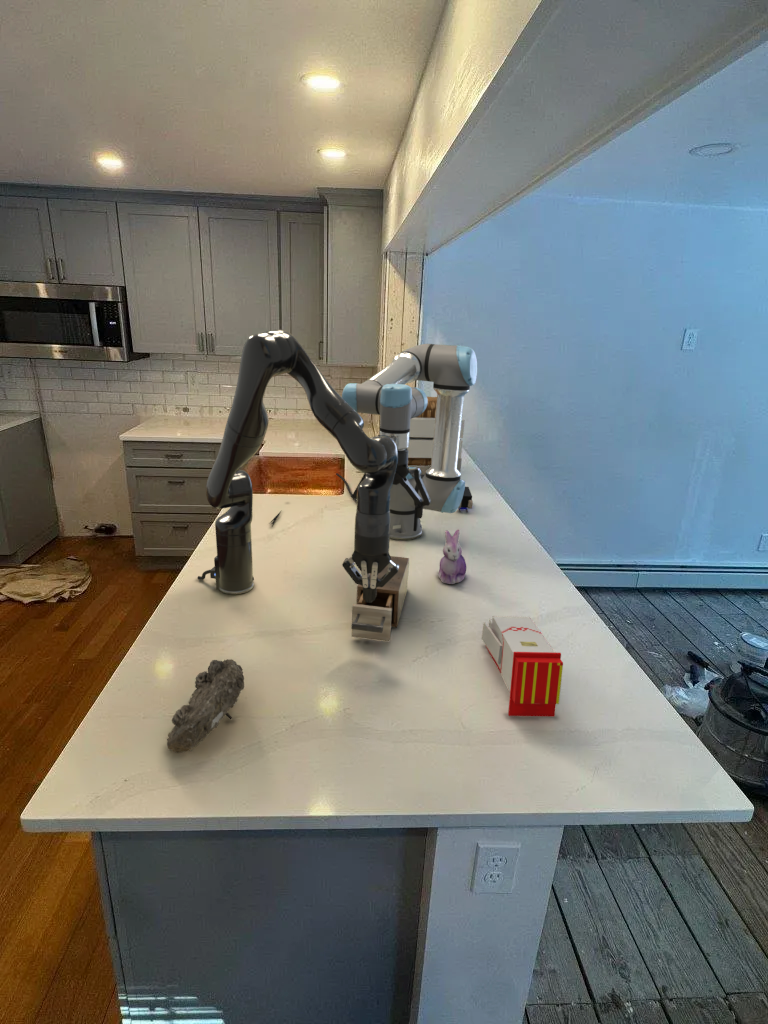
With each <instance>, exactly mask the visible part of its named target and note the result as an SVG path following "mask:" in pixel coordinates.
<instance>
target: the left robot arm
mask: <svg viewBox="0 0 768 1024" xmlns="http://www.w3.org/2000/svg"><path fill="white" fill-rule="evenodd" d="M285 374H287V375H289V376H290V377H292V378H293V379H294V380H295V381H296V382H297V383H299V385H300V387H302V389H303V391H304V393H305V395H306V398H307V401H308V405H309V408H310V410H311V412H312V414H313V416H314V418H315V419H316V421H317V422H318V423H319V425H321V426H322V427H323V428H324V429H325V430H326V432H328V434H330V435H331V436H332V437H333V438H334V439H335V440H336V441H337V443H338V445H339V447H340V448H341V450H342V451H343V453H344V455H345V457H346V458H347V460H348V461H349V463H350V464H351V465H352V466H353V467H354V468H355V469H356V470H357V471H359V472H360V473H362V474H363V475H364V474H366V476H365V479H364V480H363V481H362V482H361V483H360V484H359V483H358V484H359V486H358V485H357V486H358V489H357V499H356V500H357V503H356V510H355V517H354V546H353V552H352V554H351V556H350V557H345V559H344V560H343V562H342V564H341V566H342V567H343V569H344V570H345V571H346V573H347V574H348V575H349V577H350V579H351V580H352V581H353V582H354V583H355V585H358V584H360V585H362V586H363V599H364V600H365V602H367V603H372V602H373V601H374V600H375V598H376V593H377V587H383V586H384V585H385V584H386V583H387V582H388V581H389V580H390V579H391V578H392V577H393V576H394V575H395V574H396V573H397V572H398V570H399V564H395V563H393V562H392V561H391V556H392V555H390V538H389V537H390V528H391V526H390V490H391V486H392V483H393V480H394V476H395V472H396V468H397V463H398V451H397V446H396V444H395V442H394V441H393V440H392V439H391V438H390V437H388V436H386V435H379V434H378V435H374V436H371V437H370V436H368V434H366V433H365V431H364V430H363V429H364V427H365V421H364V419H363V418H362V416H361V415H360V413H357V412H356V411H355V410H354V409H353V408H352V407H351V406H350V405H349V404H348V403H347V402H346V401H345V400H344V399H343V398H342V395H340V393H338V391H336V389H335V388H333V386H332V385H331V384H330V383H329V381H328V380H327V379H326V377H325V376H324V375H323V373H322V372H321V371H320V369H319V368H318V366H317V365H316V364H315V362H314V361H313V360H312V358H310V355H308V353H307V352H306V350H305V349H304V347H303V346H302V344H300V342H299V341H298V340H297V338H296V337H295V336H294V335H293V334H292V333H290V332H289V331H287V330H285V329H272V330H266V331H263V332H257V333H254V334H252V335H250V336H249V337H248V338H247V339H246V341H245V342H244V345H243V348H242V351H241V356H240V363H239V369H238V376H237V382H236V388H235V392H234V394H233V395H234V396H233V400H232V404H231V408H230V411H229V413H228V416H227V420H226V424H225V428H224V431H223V435H222V436H223V437H222V440H221V443H220V447H219V450H218V453H217V456H216V458H215V460H214V462H213V465H212V468H211V470H210V471H209V474H208V477H207V480H206V484H205V495H206V500H207V503H208V504H209V505H210V506H211V507H212V508H213V509H228V508H229V509H228V510H227V511H225V513H223V514H222V515H220V516H219V517H217V518H216V520H215V523H214V526H215V527H214V528H215V529H214V531H215V543H216V544H215V545H216V556H215V557H214V558H213V561H214V566H213V567H212V568H210V569H207V570H205V571H203V572H202V574H201V576H200V575H198V576H197V578H196V579H197V580H199V581H204V580H205V579H206V575H210V579H214V580H215V589H216V590H217V591H219V592H221V593H223V594H227V595H242V594H246V593H248V592H250V591H251V590H253V588H254V585H255V583H254V582H255V577H254V567H253V565H254V564H253V546H252V545H253V544H252V543H253V542H252V541H253V540H252V522H253V515H254V514H253V506H254V503H253V501H254V490H253V482H252V479H251V477H250V475H249V473H248V472H247V471H245V470H244V469H241V468H242V467H243V466H244V465H245V464H247V462H248V461H249V460H251V458H253V457H254V456H255V454H256V453H257V452H258V451H259V450H260V448H261V447H262V445H263V443H264V440H265V437H266V435H267V431H268V428H269V423H270V422H269V421H270V419H269V414H268V411H267V408H266V406H265V403H264V397H265V393H266V390H267V387H268V385H269V382H270V381H271V379H272V378H274V377H277V376H280V375H285ZM387 565H388V569H387V571H388V572H387V573H386V574H385V575H384V576H383V577H382V578H381V579H378V575H379V573H380V572H382V570H383V569H384V568H385V567H386V566H387ZM357 568H358V569H357ZM360 572H361V573H360ZM370 573H371V584H370Z"/></svg>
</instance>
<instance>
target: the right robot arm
mask: <svg viewBox="0 0 768 1024" xmlns="http://www.w3.org/2000/svg"><path fill="white" fill-rule="evenodd" d="M476 355H477V354H476V352H475V350H474V349H473V348H472V347H470V346H464V345H455V344H454V345H452V344H438V343H437V344H436V343H435V344H434V343H421V344H418V345H414V346H412V347H409V348H406V349H405V350H402V351H400V352H399V353H398V354H396V355H395V356H394V358H393V359H392V360H391V363H389V364H387V365H386V366H384V368H382V369H381V370H379V371H378V372H377V373H375V374H373V375H372V376H370V377H369V378H367V379H366V380H365V381H363V382H361V383H357V382H355V383H351V382H350V383H349V382H348V383H347V384H346V385H345V386H344V387H343V389H342V394H341V397H342V398H343V399H344V400H345V401H346V402H347V403H348V404H349V405H350V406H351V407H352V408H353V409H354V410H355V411H356V412H357V413H358V414H366V415H367V414H369V415H377V416H379V431H378V432H379V433H378V435H386V436H388V437H390V438H391V439H392V440H393V441H394V442H395V444H396V446H397V451H398V463H397V468H396V472H395V476H394V480H393V483H392V486H391V490H390V526H391V528H390V537H389V540H395V541H410V540H415V539H418V538H420V537H421V536H422V535H423V525H422V524H421V519H422V518H423V513H424V510H427V511H433V512H438V513H442V514H443V513H446V514H454V513H456V512H457V511H458V510H459V508H458V507H459V506H460V503H461V501H462V498H463V494H464V490H465V487H466V481H465V480H463V479H461V475H462V473H460V472H459V471H458V470H457V460H458V450H459V441H460V439H461V438H460V431H461V421H462V419H463V410H464V402H465V401H464V400H465V395H467V394H468V393H469V392H470V388H471V387H472V386H474V385H475V384H476V382H477V378H478V360H477V356H476ZM415 381H420V382H431V383H433V384H432V389H433V390H434V391H435V393H436V397H437V403H436V414H435V426H434V437H433V449H432V460H431V465H430V466H429V468H427V469H426V470H425V474H424V473H423V474H422V470H421V468H420V466H408V449H407V448H408V447H409V435H410V419H412V418H414V417H417V416H419V415H420V414H421V413H423V412H424V411H425V409H426V407H427V404H428V399H427V397H428V396H427V394H426V392H425V391H424V390H423V389H421V388H419V387H412V386H410V385H408V384H410V383H413V382H415ZM335 476H337V477H338V478H340V479H341V480H342V482H344V484H345V486H346V488H347V490H348V491H347V492H348V493H349V495H350V497H351V499H352V500H353V501H354V502H355V503H356V504H357V489H358V486H359V484H360V483H361V482H362V481H363V480H364V479H365V476H366V474H364V473H363V475H362V477H361V479H360V480H359V483H358V484H357V486H356V487H355V489H354V491H353V492H352V490H351V488H350V486H349V483H348V481H347V480H346V479H345V478H344V477H343V476H342V475H341V474H339V473H337V472H336V473H335Z"/></svg>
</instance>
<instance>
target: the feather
mask: <svg viewBox="0 0 768 1024" xmlns="http://www.w3.org/2000/svg"><path fill="white" fill-rule="evenodd" d="M281 512H282V510H280V512H279V513H277V514H276V516H275V517H273V519H272V520H271V521H270V522H268V524H272V525H271V527H274V525H275V523H276V521H277V520H278V518H279V516H280V514H281Z"/></svg>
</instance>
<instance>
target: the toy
mask: <svg viewBox="0 0 768 1024" xmlns="http://www.w3.org/2000/svg"><path fill="white" fill-rule="evenodd" d="M481 632H482V633H481V640H482V642H483V644H484V646H485V648H486V650H487V652H488V654H489V655H490V657H491V659H492V661H493V663H494V664H495V666H496V668H497V670H498V671H499V674H500V676H501V678H502V680H503V682H504V684H505V687H506V688H507V690H508V692H509V700H508V702H509V703H508V710H507V711H508V712H507V715H508V717H551V718H552V717H553V718H555V716H556V707H557V705H559V704H560V698H561V697H560V695H561V688H562V687H561V686H562V678H563V669H564V662H563V661H562V653H561V652H556V651H555V649H554V648H553V647H552V645H551V644H550V643H549V641H548V639H547V638H546V637H545V635H544V634H543V633H542V631H541V630H540V629H539V628H538V626H537V624H536V622H535V621H534V620H533V619H532V617H531V616H514V615H513V616H512V615H511V616H508V615H507V616H506V615H505V616H504V615H492V618H489V620H488V623H487V621H483V623H482V631H481Z"/></svg>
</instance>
